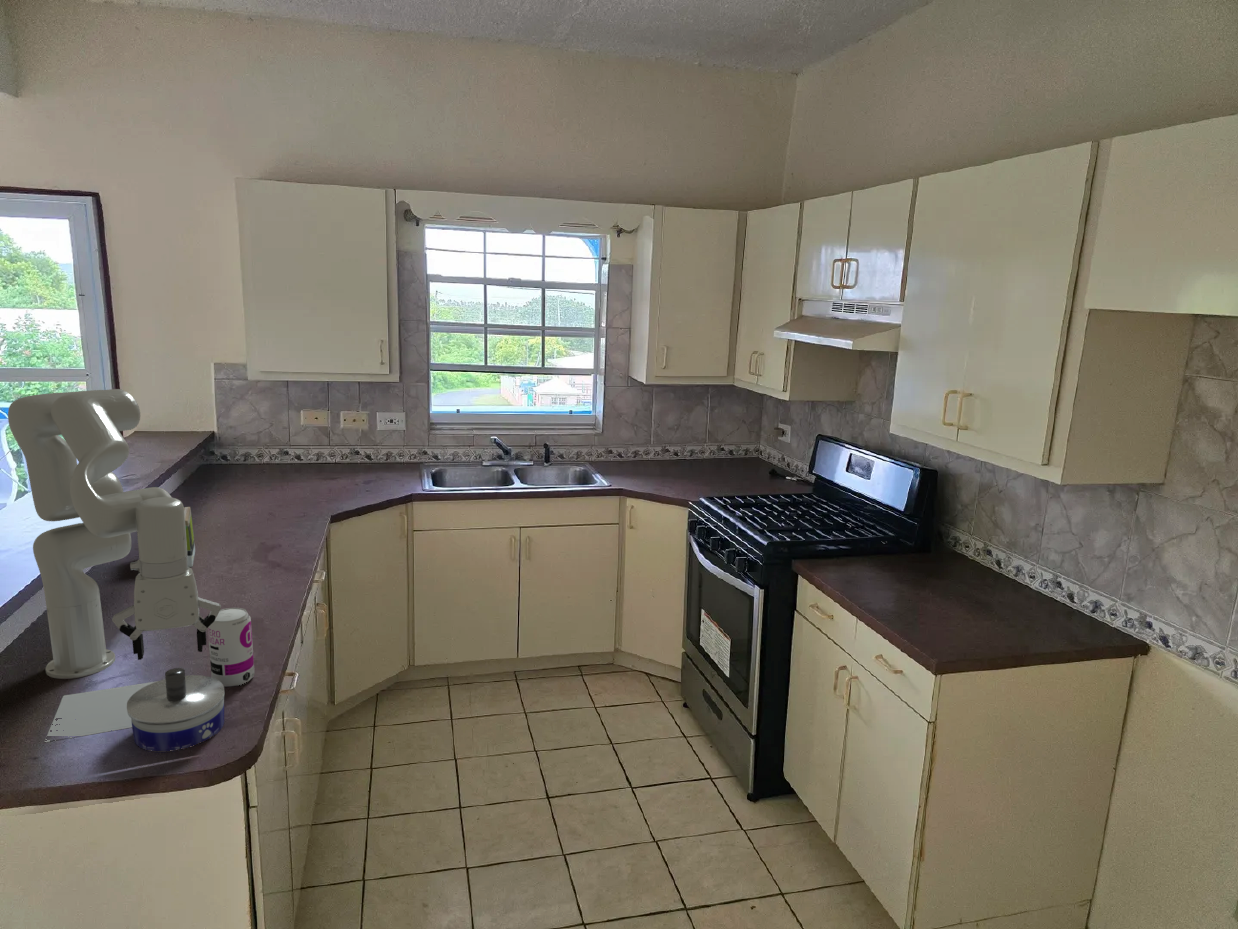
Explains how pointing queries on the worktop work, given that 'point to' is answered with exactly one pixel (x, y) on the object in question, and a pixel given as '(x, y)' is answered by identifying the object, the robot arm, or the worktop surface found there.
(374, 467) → the worktop surface
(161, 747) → the dog bowl
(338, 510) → the worktop surface
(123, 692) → the mat
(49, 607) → the robot arm
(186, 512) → the tea box
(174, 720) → the lid
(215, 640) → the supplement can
